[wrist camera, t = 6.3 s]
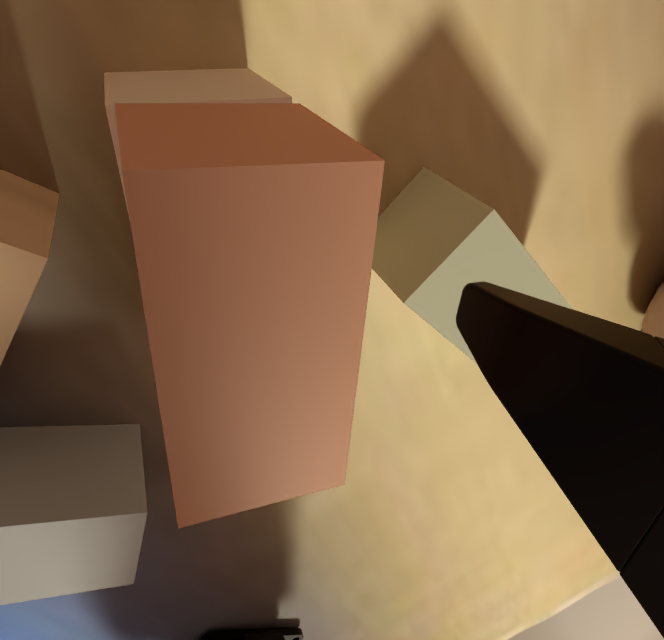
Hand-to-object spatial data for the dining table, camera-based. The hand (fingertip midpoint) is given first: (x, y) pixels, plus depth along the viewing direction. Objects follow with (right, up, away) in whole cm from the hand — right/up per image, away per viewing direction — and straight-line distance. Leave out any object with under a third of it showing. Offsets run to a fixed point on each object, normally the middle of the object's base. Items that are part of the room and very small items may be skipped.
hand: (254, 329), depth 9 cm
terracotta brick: (-1, +1, +2) cm, 3 cm away
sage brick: (+6, +2, +10) cm, 12 cm away
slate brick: (-9, -5, +8) cm, 13 cm away
